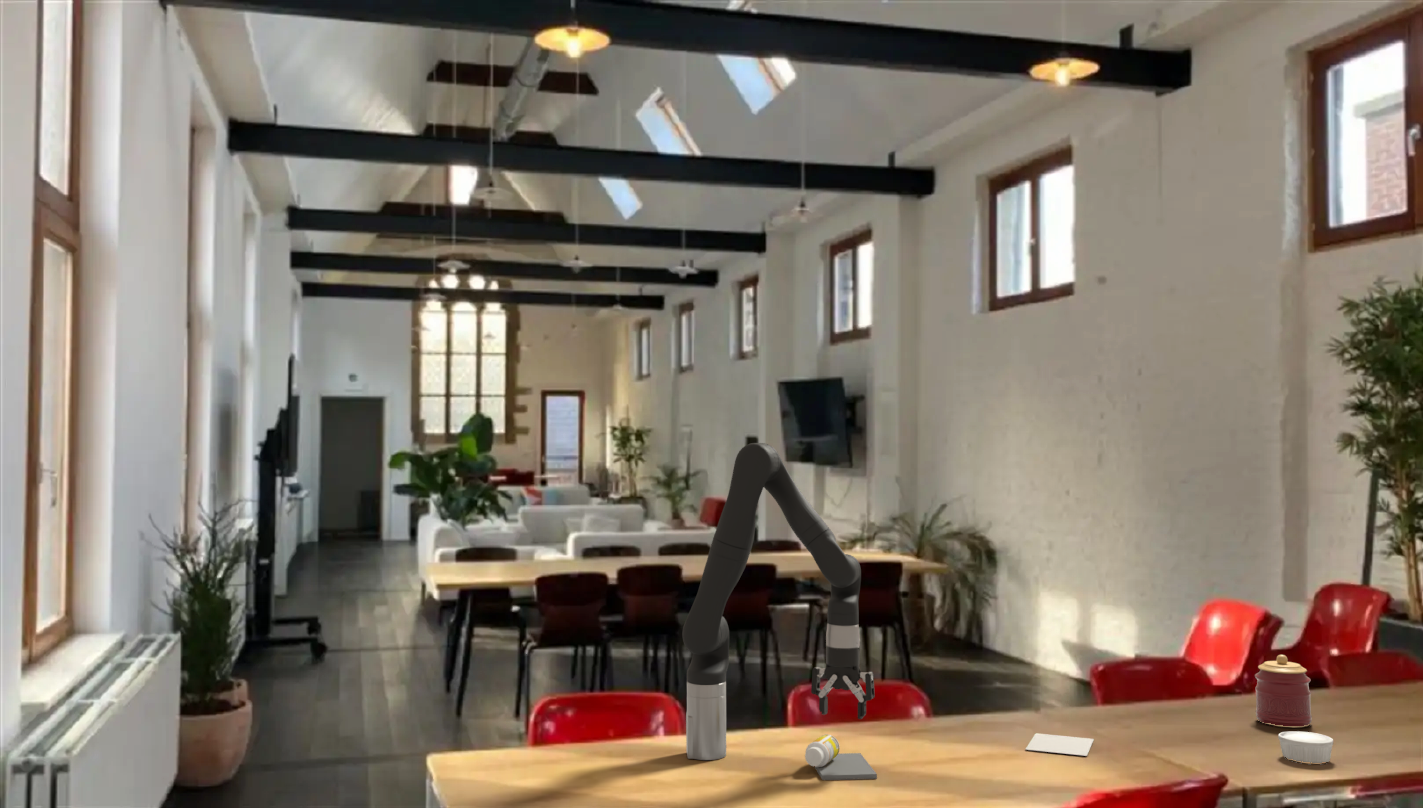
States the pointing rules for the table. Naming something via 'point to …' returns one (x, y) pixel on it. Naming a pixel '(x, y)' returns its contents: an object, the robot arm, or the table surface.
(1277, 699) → the canister
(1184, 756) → the table surface
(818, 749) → the supplement bottle
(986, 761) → the table surface
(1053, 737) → the paper stack
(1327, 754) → the ramekin
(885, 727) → the table surface
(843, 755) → the mat
